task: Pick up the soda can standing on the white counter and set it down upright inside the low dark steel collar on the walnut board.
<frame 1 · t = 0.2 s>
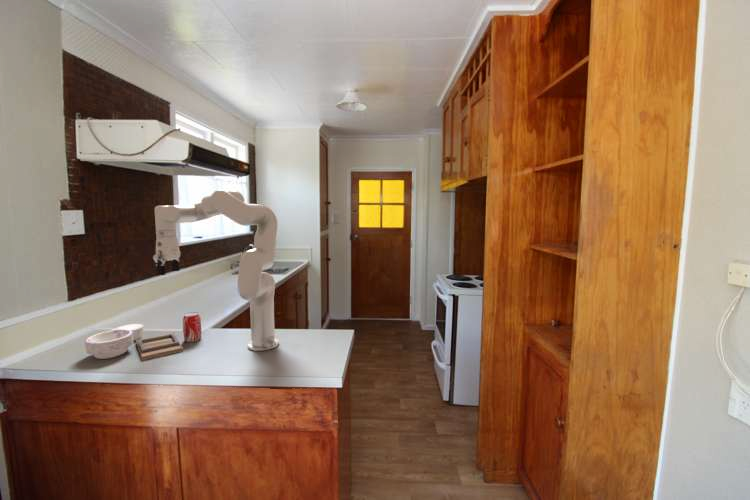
hand: (168, 272, 153), 30 cm above the worktop, tool pointing down, fingers open, 9 cm apart
soda can: (193, 340, 155), on the worktop
walnut board: (159, 347, 147), on the worktop
paper bowls: (111, 354, 140), on the worktop
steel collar: (158, 342, 146), on the walnut board, point 2 cm above the worktop
ramekin: (129, 339, 156), on the worktop
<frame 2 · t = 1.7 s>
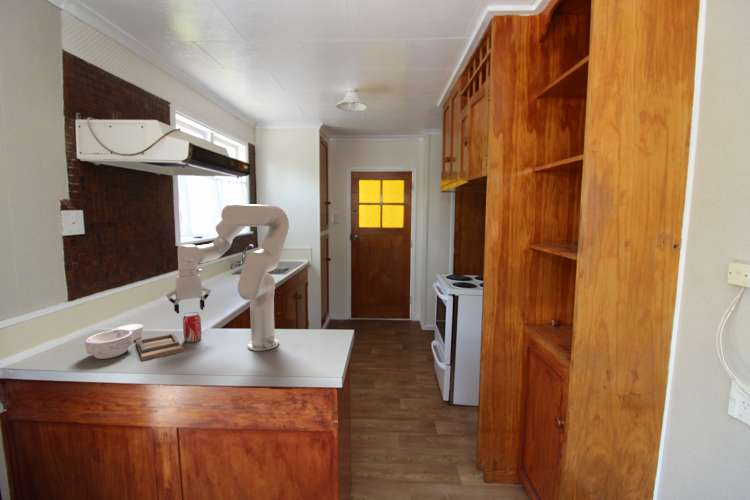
hand: (189, 310, 153), 13 cm above the worktop, tool pointing down, fingers open, 9 cm apart
nothing on the worktop moved.
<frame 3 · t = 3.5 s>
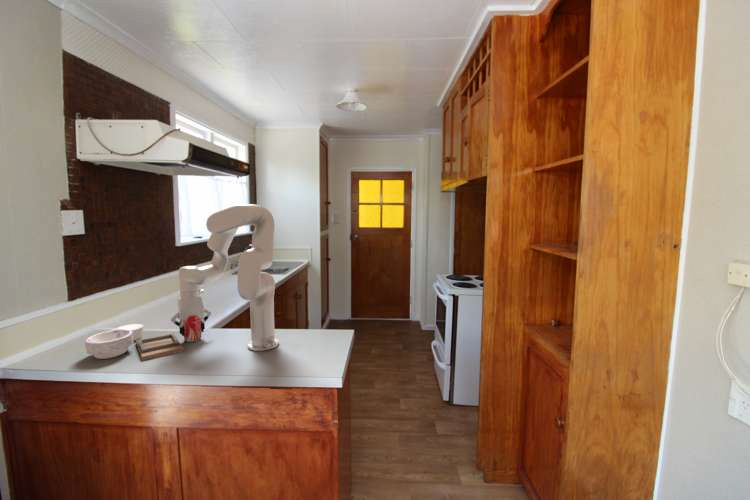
hand: (192, 332, 154), 3 cm above the worktop, tool pointing down, fingers closed on soda can, 7 cm apart
soda can: (193, 340, 155), on the worktop, touching gripper
everything else where it was.
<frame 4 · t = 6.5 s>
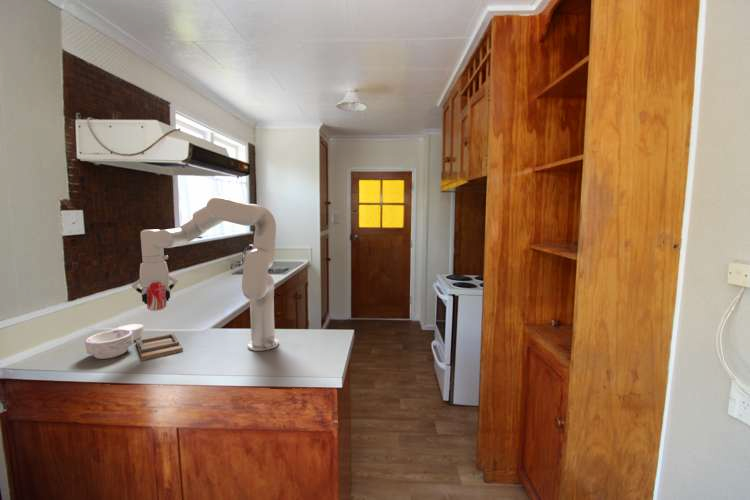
hand: (156, 301, 145), 20 cm above the worktop, tool pointing down, fingers closed on soda can, 7 cm apart
soda can: (157, 309, 145), point 16 cm above the worktop, touching gripper
everything else where it was.
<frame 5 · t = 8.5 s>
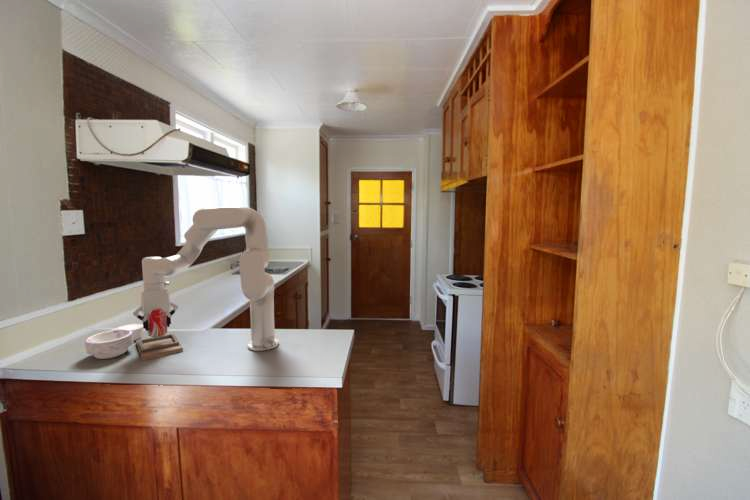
hand: (157, 327, 146), 9 cm above the worktop, tool pointing down, fingers closed on soda can, 7 cm apart
soda can: (158, 335, 146), point 5 cm above the worktop, touching gripper
everything else where it was.
when the fingers open (7 cm above the worktop, at t = 9.9 s): soda can drops 2 cm, resting on walnut board.
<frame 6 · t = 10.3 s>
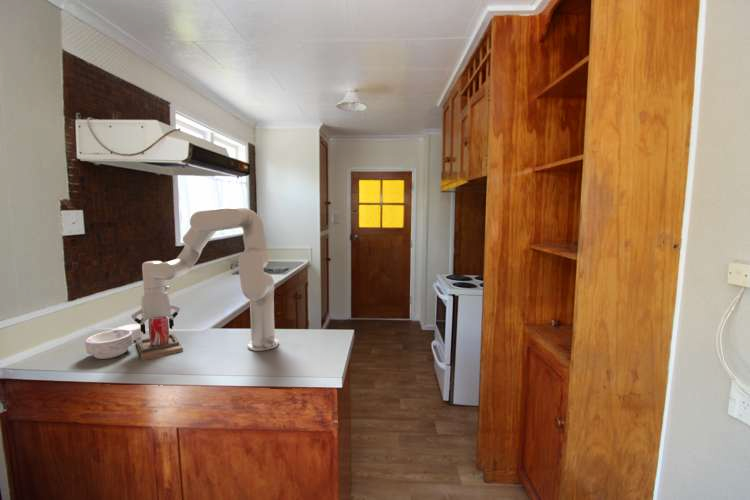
hand: (157, 330, 146), 7 cm above the worktop, tool pointing down, fingers open, 9 cm apart
soda can: (159, 344, 147), point 1 cm above the worktop, touching walnut board
everything else where it was.
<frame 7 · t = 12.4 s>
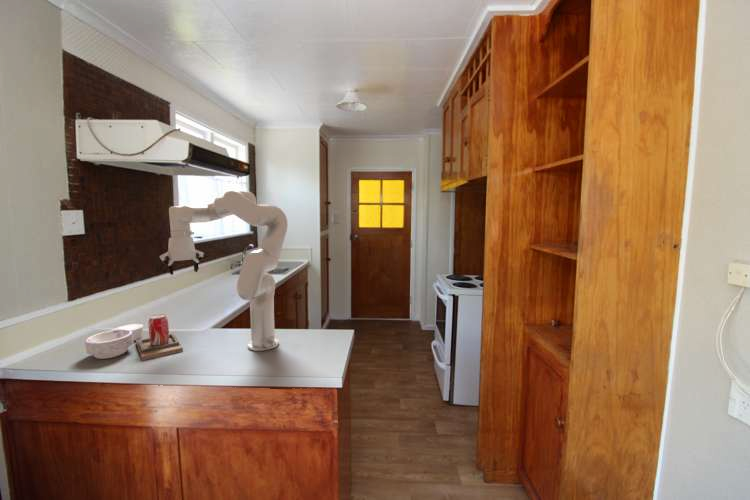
hand: (184, 272, 154), 30 cm above the worktop, tool pointing down, fingers open, 9 cm apart
nothing on the worktop moved.
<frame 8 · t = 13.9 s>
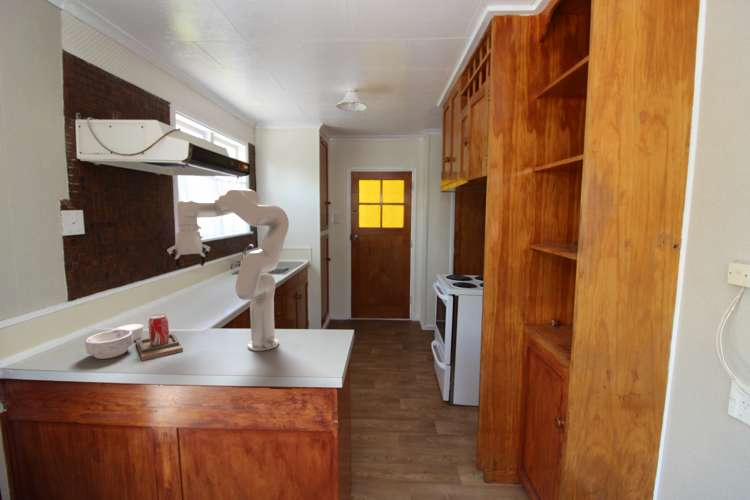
hand: (190, 266, 157), 32 cm above the worktop, tool pointing down, fingers open, 9 cm apart
nothing on the worktop moved.
at the end: soda can 0.4 cm off-centre on the walnut board, point 1.3 cm above the walnut board's base; soda can tilted 0°; the gripper is holding nothing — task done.
